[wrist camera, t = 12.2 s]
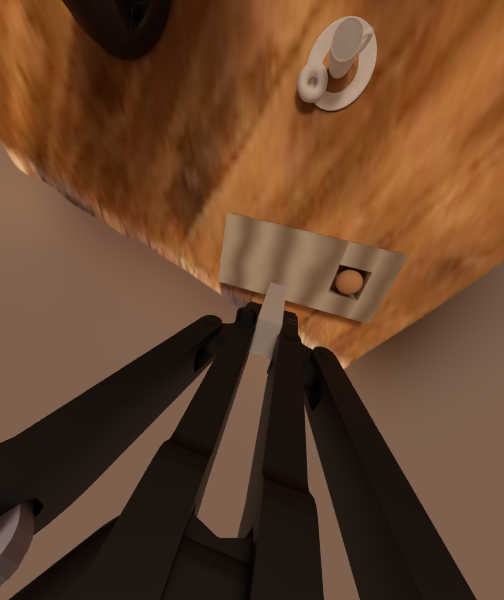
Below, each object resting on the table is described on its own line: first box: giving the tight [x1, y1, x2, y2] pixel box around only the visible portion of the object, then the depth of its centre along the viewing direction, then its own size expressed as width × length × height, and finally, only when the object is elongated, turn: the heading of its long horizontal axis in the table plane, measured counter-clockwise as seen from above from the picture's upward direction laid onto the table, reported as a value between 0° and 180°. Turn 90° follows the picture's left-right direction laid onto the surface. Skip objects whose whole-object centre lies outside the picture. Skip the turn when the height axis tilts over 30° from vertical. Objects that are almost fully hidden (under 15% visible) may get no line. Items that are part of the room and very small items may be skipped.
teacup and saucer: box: [297, 16, 377, 111], centre depth 21 cm, size 9×8×4 cm
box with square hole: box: [218, 213, 409, 324], centre depth 32 cm, size 28×12×2 cm, turn 78°
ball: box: [335, 270, 363, 294], centre depth 30 cm, size 4×4×4 cm
